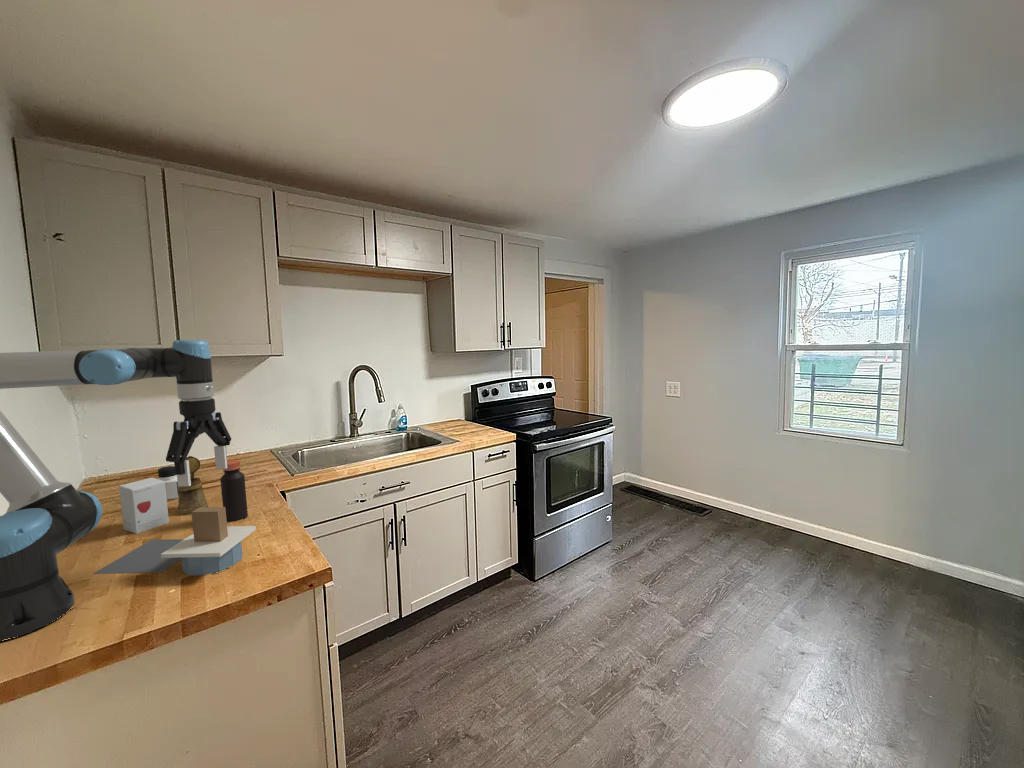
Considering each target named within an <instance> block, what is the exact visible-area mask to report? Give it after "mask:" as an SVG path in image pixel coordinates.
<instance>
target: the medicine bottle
mask: <svg viewBox="0 0 1024 768" xmlns="http://www.w3.org/2000/svg"><path fill="white" fill-rule="evenodd" d="M157 475H158V480H162V481H165V488H166V498H167V501H169V500H175V499H179V491H178V482H177V475H176V473H175V465H166V466H163V467H160V468H159V469H158V470H157Z"/></svg>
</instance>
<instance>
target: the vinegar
mask: <svg viewBox="0 0 1024 768" xmlns="http://www.w3.org/2000/svg"><path fill="white" fill-rule="evenodd" d="M222 470H223V471H222V472H224V474H223V475H222V476H220V488H221V498H222V499H221V502H222V507H225V509H226V519H227V523H234V522H238V521H241V520H245V519H247V518H248V514H249V513H248V502H247V491H246V479H245V477H246V476H245V474H244V473H243V472H241V461H240V460H237V459H234V460H233V459H232V460H227V469H222Z"/></svg>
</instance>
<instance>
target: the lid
mask: <svg viewBox="0 0 1024 768" xmlns="http://www.w3.org/2000/svg"><path fill="white" fill-rule="evenodd" d="M190 515H191V522H192V531H193V532H192V534H191V535H188V536H187V537H185V538H183V539H184V540H182V541H181V542H179V543H178V544H176V545H174V546H173V547H171V548H170V549H168V550H167V551H165V552H163V553H162V554H161V558H178V557H221V556H222V555H224V554H225V553H226V552H227V551H229V550H230V549H231V548H233V547H234V546H235V545H236V544H238V543H239V542H240V541H241V542H242V541H243V540H244V539H245V538H247V537H248V536H249V535H251V534H253V532H254V531H256V529H257V527H256V525H244V526H243V525H241V526H240V525H237V526H235V525H233V526H228V522H227V519H226V509H225V507H223V506H215V507H214V506H212V507H211V506H208V507H199V508H198V509H196V510H194V511H192V512H191V514H190Z"/></svg>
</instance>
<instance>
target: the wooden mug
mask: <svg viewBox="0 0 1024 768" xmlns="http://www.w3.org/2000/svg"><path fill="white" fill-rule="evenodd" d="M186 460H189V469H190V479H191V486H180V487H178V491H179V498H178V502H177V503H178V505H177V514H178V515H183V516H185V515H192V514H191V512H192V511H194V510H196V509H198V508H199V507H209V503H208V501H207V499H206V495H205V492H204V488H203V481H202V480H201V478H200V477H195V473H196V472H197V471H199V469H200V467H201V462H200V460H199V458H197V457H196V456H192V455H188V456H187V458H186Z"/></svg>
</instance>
